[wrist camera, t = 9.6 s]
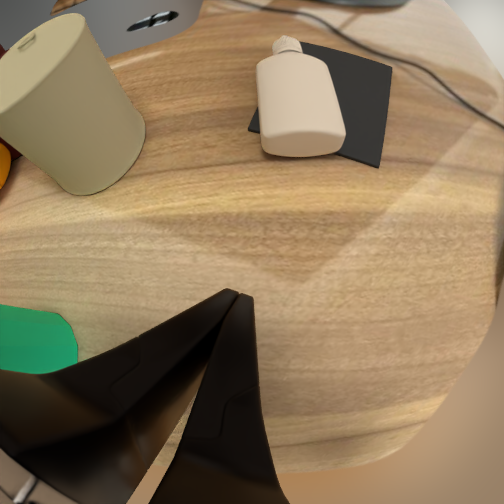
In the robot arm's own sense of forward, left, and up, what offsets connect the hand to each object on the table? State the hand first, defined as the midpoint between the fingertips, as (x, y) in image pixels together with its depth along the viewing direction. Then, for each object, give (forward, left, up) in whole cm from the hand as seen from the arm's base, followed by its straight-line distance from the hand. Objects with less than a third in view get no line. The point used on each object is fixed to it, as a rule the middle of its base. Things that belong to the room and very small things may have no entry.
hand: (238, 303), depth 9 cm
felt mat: (+14, -12, -10) cm, 21 cm away
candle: (+2, +16, -10) cm, 19 cm away
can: (+17, +8, -10) cm, 22 cm away
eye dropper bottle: (+9, -7, -8) cm, 14 cm away
